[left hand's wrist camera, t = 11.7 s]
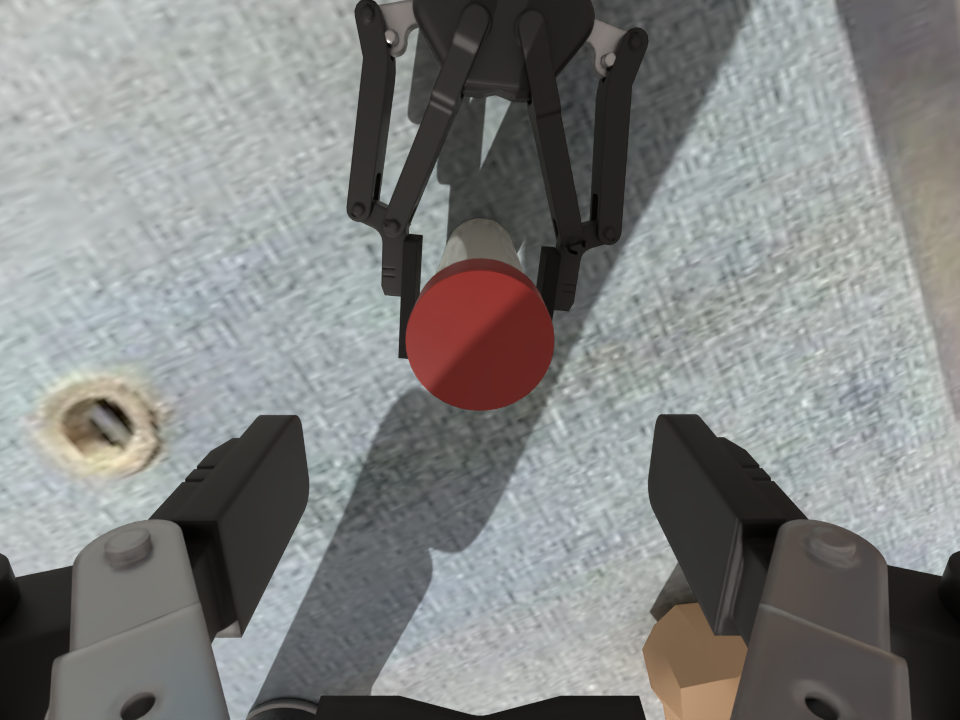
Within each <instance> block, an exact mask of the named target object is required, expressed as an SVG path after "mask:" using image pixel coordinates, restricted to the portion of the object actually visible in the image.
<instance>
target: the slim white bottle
mask: <svg viewBox="0 0 960 720" xmlns="http://www.w3.org/2000/svg"><path fill="white" fill-rule="evenodd" d="M473 258H486V259H493V260H498V261H501V262H504V263H507V264H509V265H511V266H513V267H515V268H517V269H518V270H519V271H521V272H522V273H524V271H523V269H522V266H521V263H520V261H519V258H518V256H517V253H516V250H515V248H514V245H513V242H512V240H511V238H510V236H509V234H508V232H507V231H506V230H505V229H504V228H503V227H502V226H501V225H499V224H498V223H496V222H494V221H492V220H489V219H483V218H476V219H471V220H468V221H466V222H464V223H462V224H461V225H459V226H458V227H457V228H456V229H455V230H454V231H453V233H452V234H451V236H450V238H449V240H448V242H447V245H446V248H445V250H444V253H443V256H442V258H441V261H440V264H439V266H438V269H437V271H436V274H437V273H438V272H439V271H441V270H442V269H444V268H445V267H447V266H449V265H451V264H453V263H456V262H459V261H462V260H467V259H473Z"/></svg>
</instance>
